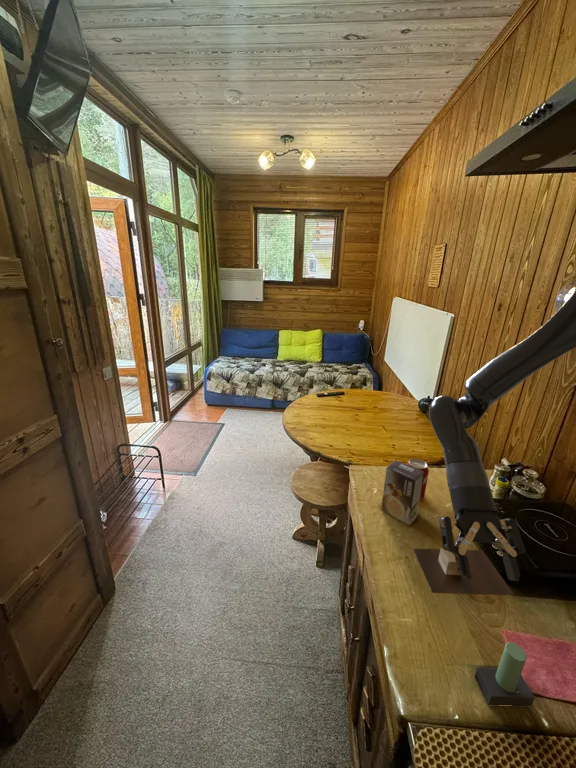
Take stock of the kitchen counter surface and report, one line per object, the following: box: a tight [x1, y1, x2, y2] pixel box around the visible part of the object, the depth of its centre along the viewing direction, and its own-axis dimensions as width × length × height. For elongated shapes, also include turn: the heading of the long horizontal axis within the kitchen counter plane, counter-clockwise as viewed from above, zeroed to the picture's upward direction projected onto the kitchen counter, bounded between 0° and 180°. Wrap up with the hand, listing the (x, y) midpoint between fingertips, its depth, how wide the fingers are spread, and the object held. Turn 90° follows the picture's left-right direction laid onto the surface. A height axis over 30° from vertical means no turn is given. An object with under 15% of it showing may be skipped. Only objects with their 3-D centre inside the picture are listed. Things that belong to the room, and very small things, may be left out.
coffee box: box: [381, 459, 424, 526], centre depth 90 cm, size 9×6×16 cm
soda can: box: [406, 458, 430, 501], centre depth 100 cm, size 7×7×12 cm
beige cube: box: [438, 547, 460, 575], centre depth 73 cm, size 4×4×4 cm
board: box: [412, 547, 515, 596], centre depth 74 cm, size 18×12×2 cm, turn 89°
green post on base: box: [474, 641, 536, 707], centre depth 51 cm, size 4×7×10 cm, turn 89°
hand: (490, 579), depth 56 cm, fingers open, 8 cm apart
